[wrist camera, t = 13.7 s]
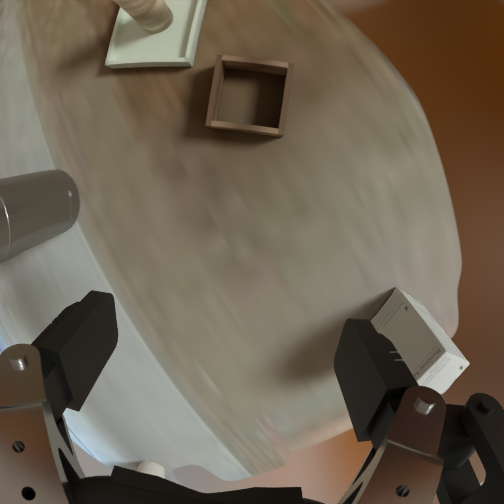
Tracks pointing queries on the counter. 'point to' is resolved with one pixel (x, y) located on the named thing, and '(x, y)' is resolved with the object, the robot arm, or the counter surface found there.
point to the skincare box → (420, 341)
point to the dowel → (148, 13)
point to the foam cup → (151, 469)
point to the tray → (157, 39)
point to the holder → (256, 66)
